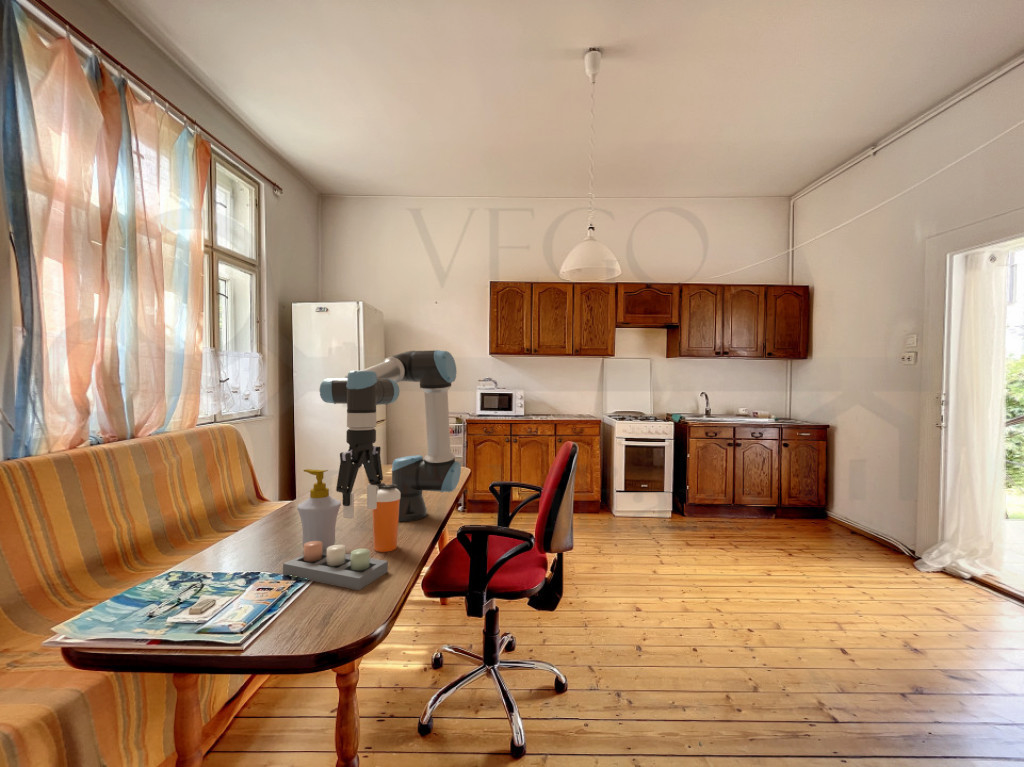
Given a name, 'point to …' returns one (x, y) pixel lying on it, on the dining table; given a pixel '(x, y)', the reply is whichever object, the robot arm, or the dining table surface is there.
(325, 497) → the soap bottle
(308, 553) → the brown egg
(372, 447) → the robot arm
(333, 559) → the cream egg
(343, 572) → the panel
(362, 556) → the pale green rounded knob
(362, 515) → the dining table surface
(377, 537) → the shaker bottle
